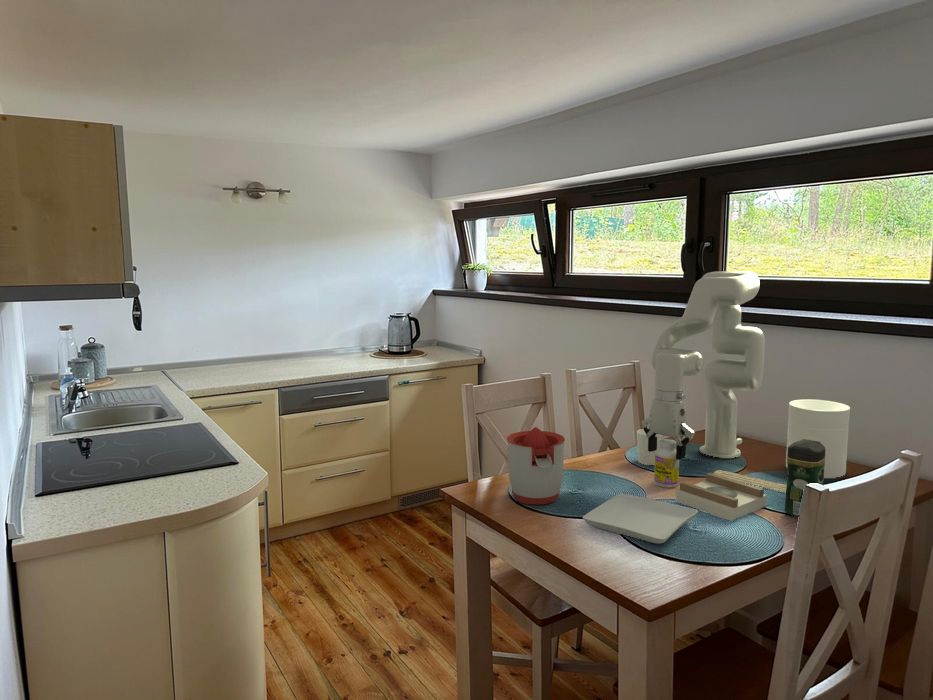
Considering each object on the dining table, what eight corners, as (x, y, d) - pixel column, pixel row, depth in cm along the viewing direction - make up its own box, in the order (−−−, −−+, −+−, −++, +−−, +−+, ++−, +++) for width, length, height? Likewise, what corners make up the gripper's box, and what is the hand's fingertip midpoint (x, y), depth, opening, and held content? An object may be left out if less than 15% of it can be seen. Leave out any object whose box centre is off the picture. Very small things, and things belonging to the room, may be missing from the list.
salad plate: (580, 529, 154) (580, 515, 154) (620, 503, 170) (620, 490, 170) (664, 553, 140) (664, 539, 140) (699, 522, 157) (699, 509, 156)
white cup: (665, 466, 198) (665, 435, 197) (639, 466, 198) (640, 435, 197) (657, 458, 206) (658, 428, 205) (633, 458, 206) (634, 428, 205)
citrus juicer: (515, 513, 163) (515, 438, 160) (502, 490, 180) (501, 421, 178) (574, 509, 166) (574, 434, 163) (555, 486, 183) (555, 418, 180)
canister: (857, 472, 189) (862, 407, 186) (822, 481, 182) (826, 413, 179) (808, 458, 203) (811, 397, 201) (774, 466, 196) (777, 403, 194)
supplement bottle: (650, 484, 182) (651, 441, 180) (660, 478, 187) (661, 436, 185) (672, 490, 178) (673, 445, 176) (682, 483, 183) (683, 440, 181)
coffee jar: (792, 503, 166) (796, 435, 164) (825, 511, 161) (830, 440, 158) (779, 514, 160) (783, 443, 157) (814, 523, 154) (818, 449, 152)
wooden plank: (711, 478, 188) (711, 473, 188) (722, 473, 193) (722, 467, 193) (796, 499, 172) (796, 492, 171) (805, 492, 176) (805, 486, 176)
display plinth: (711, 488, 178) (712, 471, 177) (766, 506, 165) (767, 487, 164) (675, 501, 169) (676, 483, 168) (730, 521, 156) (730, 501, 155)
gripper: (703, 399, 174) (700, 459, 176) (652, 389, 188) (650, 446, 190) (686, 402, 169) (683, 464, 172) (635, 392, 184) (633, 450, 186)
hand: (666, 454), depth 181 cm, fingers open, 9 cm apart
